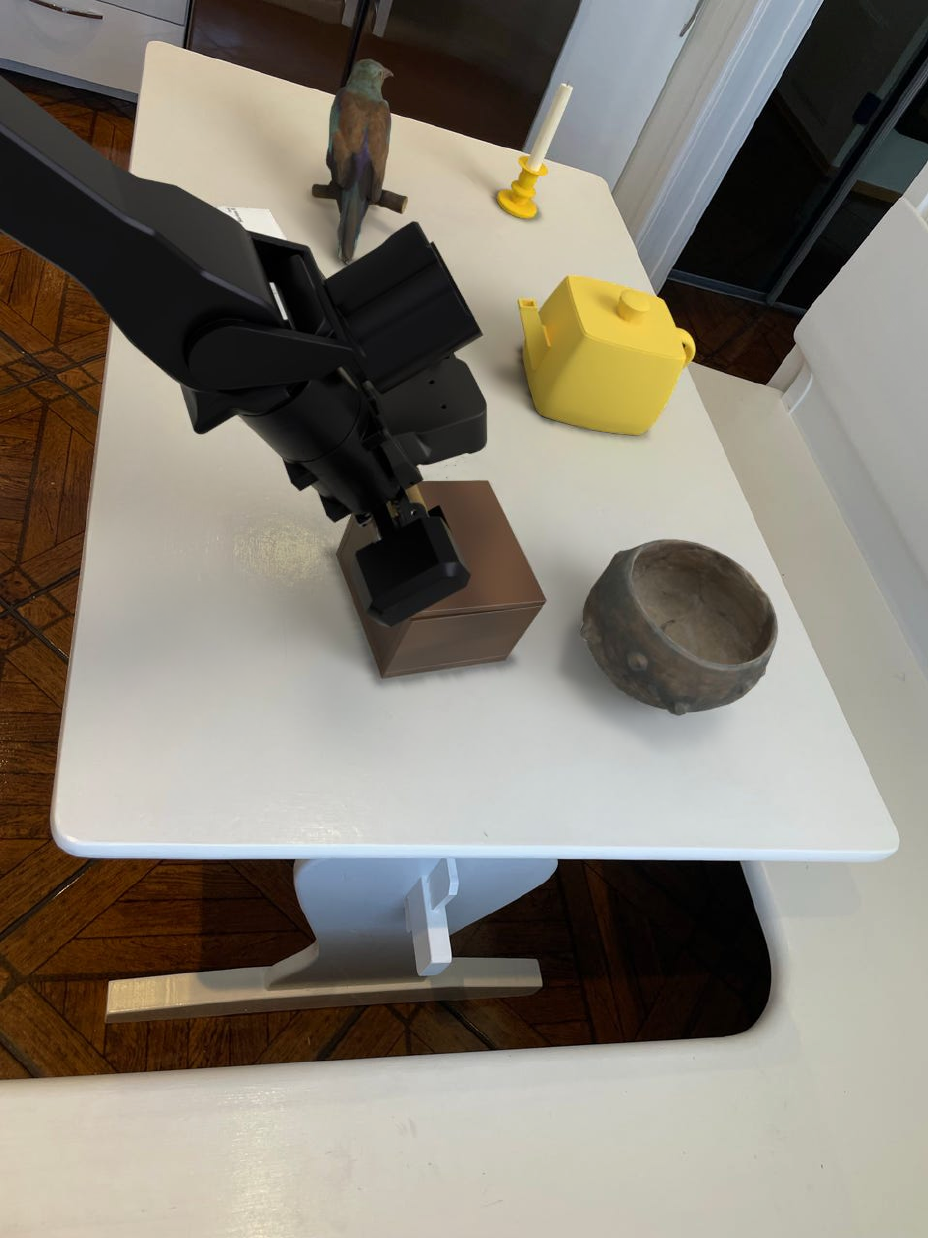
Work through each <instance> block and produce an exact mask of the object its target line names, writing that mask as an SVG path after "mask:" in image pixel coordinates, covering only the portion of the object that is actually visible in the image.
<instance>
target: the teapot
mask: <svg viewBox="0 0 928 1238" xmlns="http://www.w3.org/2000/svg"><path fill="white" fill-rule="evenodd" d="M517 305H518V311H519V315H520V319H521V320H520V321H521V327H522V332H523V336H524V340H523V345H522V351H521V353H522V362H523V366H524V367H523V368H524V371H525V377H526V380H527V385H528V389H529V392H530V395H531V398H532V402H533V405H534V409H535V410H536V412H537V413H538V414H539V415H540V416H542V417H545V418H547V419H550V420H553V421H556V422H560V423H563V424H567V425H570V426H575V427H578V428H582V429H586V430H592V431H597V432H602V433H611V434H619V435H625V436H626V435H627V436H640V435H642V434H644V433H645V432H647V431H648V430H649V429H650V428H651V427H652V426H654V425H655V423H656V422H657V421H658V419H659V418H660V416H661V415H662V413H663V411H664V409H665V408H666V407H667V404H668V403H669V400H670V399H671V396H672V394H673V392H674V391H675V388H676V386H677V383H678V381H679V378H680V376H681V373H682V371H683V370H684V369H686V368H687V366H688V365H690V363H691V362H692V361H693V360H694V357H695V355H696V344H695V341H694V338H693V337H692V335H691V334H690V333H689V332H688V331H686V330H685V329H683V328H680V327H677V326H676V323H675V322H674V319H673V317H672V314H671V312H670V310H669V308H668V306H667V304H666V302H665V300H664V299H662V298H661V297H658V296H656V295H654V294H651V293H648V292H645V291H642V290H639V289H637V288H632V287H630V286H625V285H623V284H619V283H614V282H611V281H607V280H603V279H598V278H594V277H588V276H582V275H575V274H569V275H566V276H565V277H564V278H563V279H562V281H560V282H559V284H558V285H557V286H556V287H555V289H554V290H553V291H552V292H551V294H550V295H549V296H548V298H547V299H546V300H545V301H544V303H543V304H542V306H541V307H540V308H539V306H538V303H537V300H536V298H520V297H519V298H517ZM684 345H685V346H684Z"/></svg>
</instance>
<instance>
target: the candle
mask: <svg viewBox="0 0 928 1238" xmlns="http://www.w3.org/2000/svg"><path fill="white" fill-rule="evenodd" d="M569 83H570V80H568V82H567V83H562V82H561V83H560V85H559V87H558V88H557V91H556V93H555V95H554V98H553V100H552V102H551V105H550V107H549V109H548V112H547V113H546V116H545V118H544V121H543V123H542V126H541V128H540V130H539V133H538V135H537V137H536V139H535V142H534V145H533V147H532V149H531V152H530V154H529V156H528V155H522V156H519V157H518V159H517V162H518V164H519V166H520V167H521V172H520V173H519V174H518V178H517V179H514V180H513V181H511V183H510V188H511V189H502V190H500V191H499V192H498V193H497V195H496V201H497V203H498V204H499V206H500V207H501V208H502V209H503V210H504V211H505V212H507V213H508V214H510V215H512V216H514V217H516V218H519V219H532V218H535V216H536V214H537V211H538V208H537V205H536V204H535V202H534V201H533V200H532V199H534V198H535V197H536V193H537V192H536V189H535V188H534V187H535V186H536V184H537V182H538V178H539V177H545V176H547V175H548V173H549V170H548V167H547V166H546V165H545V164H544V163H543V162H544V160H545V157H546V155H547V152H548V150H549V148H550V146H551V143H552V140H553V139H554V137H555V134H556V131H557V129H558V126H559V125H560V122H561V119H562V117H563V114H564V112H565V110H566V107H567V105H568V103H569V101H570V98H571V95H572V92H573V90H574V87H573V86H571V85H570V84H569Z"/></svg>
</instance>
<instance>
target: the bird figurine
mask: <svg viewBox="0 0 928 1238" xmlns="http://www.w3.org/2000/svg"><path fill="white" fill-rule="evenodd" d="M388 77H394V74H393V72H392V71H391V70H390V69H389V68H387V67H384V66H383V65H382V63H380V62H379V61H376V60H374V59H372V58H364V59H363V58H362V59H360V60H358V61H357V62H355V64H354V65H353V68H352V71H351V73H350V75H349V77H348V79H347V81H346V84H345V86H344V87H341V88H339V89H338V91H337V92H336V94H335V96H334V99H333V101H332V105H331V107H330V111H329V119H328V121H329V122H328V123H329V124H328V142H327V143H328V145H327V148H326V156H325V165H326V167H327V168H328V170H329V172H330V178H331V179H330V181H329V182H328V184H320V183H313V184H312V186H311V196H312V197H313V198H315V199H325V200H327V199H328V200H334V201H336V204H337V208H338V213H339V222H338V227H337V231H336V237H337V241H338V248H337V250H338V257H339V259H340V260H342V261H344V263H345V264H346V265H349V264H351V262H352V261H353V258H354V256H355V252H356V249H357V248H358V243H359V238H360V235H361V230H362V223H363V220H364V217H365V216H366V214H367V212H368V209H369V207H370V206H377V207H379V208H385V209H388V210H390V211H392V212H395V213H397V214H400V215H403V214H404V212H405V210H406V208H407V205H408V201H409V198H408V196H407V195H402V194H399V193H396V192H393V191H391V190H387V189H383V186H384V184H383V183H384V180H385V175H386V167H387V161H388V157H389V151H390V143H391V130H392V113H391V108H390V105H389V103H388V102H389V101H387V100H386V99H384V98H383V95H382V86H383V84H384V81H385V79H387V78H388Z"/></svg>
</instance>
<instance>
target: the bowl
mask: <svg viewBox="0 0 928 1238" xmlns="http://www.w3.org/2000/svg"><path fill="white" fill-rule="evenodd" d="M777 617H778V616H777V614H776V610H775V606H774V604H773V603H772V600H771V598H770V596H769V594H768V593H767V592H766V591H764V590H763V588H762V587H761V586H760V584H759V583H758V581H757V580H756V578H755V577H754V576H753V574H752V573H751V572H749V571H748V570H747V569H746V568H745V567H743V565H741V564H740V563H738V562H737V561H735V560H734V559H732V558H731V557H730V556H728V555H725V554H724V553H722V552H721V551H719V550H717V549H714V548H712V547H710V546H707V545H705V544H702V543H699V542H695V541H691V540H684V539H676V538H675V539H674V538H672V539H671V538H670V539H668V538H662V539H655V540H651V541H648V542H644V543H642V544H639V545H637V546H634V547H632V548H629V549H625V550H624V549H623V550H619V551H617V552H615V553H614V554H613V556H612V558H611V559H610V562H609V564H607V566H606V567H605V569H604V570H603V572H602V573H601V575H599V577H598V578H597V580H596V581H595V583H594V584H593V586H592V587H591V588H590V590H589V593H588V594H587V596H586V598H585V601H584V604H583V607H582V615H581V618H582V619H581V620H582V624H581V626H580V628H579V636H580V637H581V638H582V639H583V640H584V641H585V643H586V645H587V648H588V650H589V652H590V654H591V656H592V657H593V659H594V661H595V663H596V664H597V666H598V667H599V668H600V670H601V671H602V672H603V674H604V675H605V676H606V678H607V679H608V680H609V682H610V683H612V685H613V686H614V687H615V688H616V689H617V690H619V691H620V692H622V693H624V694H625V695H627V696H628V697H630V698H631V699H632V698H633V699H634V700H636V701H637V702H639V703H642V704H643V705H645V706H650V707H652V708H656V709H660V710H666V711H667V712H669V713H670V714H671V715H675V716H677V717H680V716H683V715H686V714H687V713H699V712H706V711H711V710H714V709H716V708H717V709H718V708H721V707H725V706H728V705H730V704H734V703H735V702H737V701H739V700H741V699H742V698H744V697H745V696H746V695H747V694H748V693H750V691H752V689H754V687H756V685H757V684H758V683H759V681H760V679H762V677H764V676H765V675H766V673H767V666H768V664H769V662H770V659H771V657H772V654H773V652H774V650H775V647H776V644H777V639H778V636H779V635H778V634H779V623H778V622H779V621H778V618H777Z"/></svg>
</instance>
